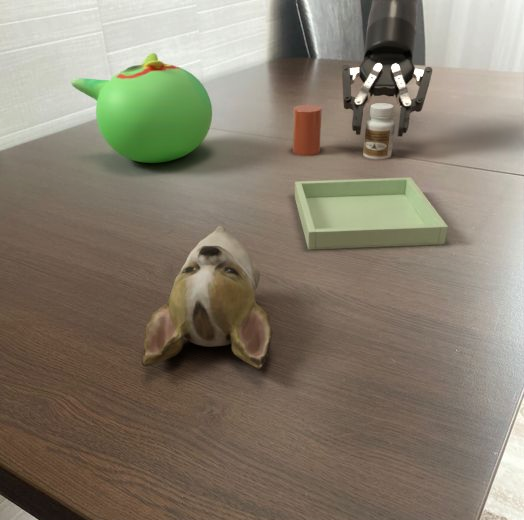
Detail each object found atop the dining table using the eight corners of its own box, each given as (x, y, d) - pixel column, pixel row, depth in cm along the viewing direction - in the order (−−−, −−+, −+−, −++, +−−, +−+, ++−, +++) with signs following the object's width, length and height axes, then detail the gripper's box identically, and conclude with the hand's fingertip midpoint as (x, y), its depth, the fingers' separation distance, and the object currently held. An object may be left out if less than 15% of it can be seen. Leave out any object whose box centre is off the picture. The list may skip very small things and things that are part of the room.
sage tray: (408, 195, 75) (411, 177, 74) (444, 247, 63) (448, 226, 61) (294, 199, 75) (294, 181, 73) (308, 252, 63) (308, 231, 61)
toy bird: (147, 186, 80) (130, 74, 71) (82, 161, 89) (60, 60, 80) (234, 155, 90) (230, 54, 81) (168, 136, 99) (157, 44, 91)
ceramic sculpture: (277, 209, 50) (267, 306, 39) (278, 288, 56) (270, 394, 44) (162, 209, 51) (119, 304, 40) (174, 287, 57) (140, 390, 45)
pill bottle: (360, 160, 87) (364, 108, 83) (366, 151, 91) (371, 101, 86) (387, 162, 86) (394, 110, 81) (393, 154, 89) (399, 103, 85)
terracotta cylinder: (317, 148, 92) (319, 104, 88) (321, 157, 89) (323, 111, 84) (291, 149, 92) (292, 105, 88) (294, 158, 89) (294, 112, 84)
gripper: (344, 14, 84) (331, 117, 82) (442, 15, 82) (431, 121, 79) (345, 48, 91) (333, 143, 89) (434, 49, 89) (424, 147, 87)
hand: (379, 132), depth 84 cm, fingers open, 5 cm apart
